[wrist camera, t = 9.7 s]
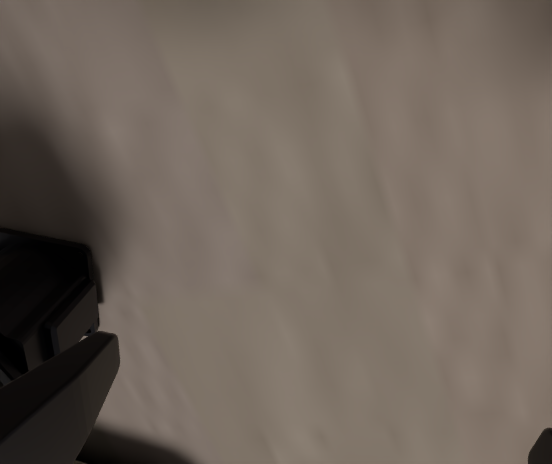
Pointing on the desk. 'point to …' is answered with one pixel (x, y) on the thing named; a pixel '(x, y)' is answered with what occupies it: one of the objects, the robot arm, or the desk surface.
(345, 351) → the desk surface
